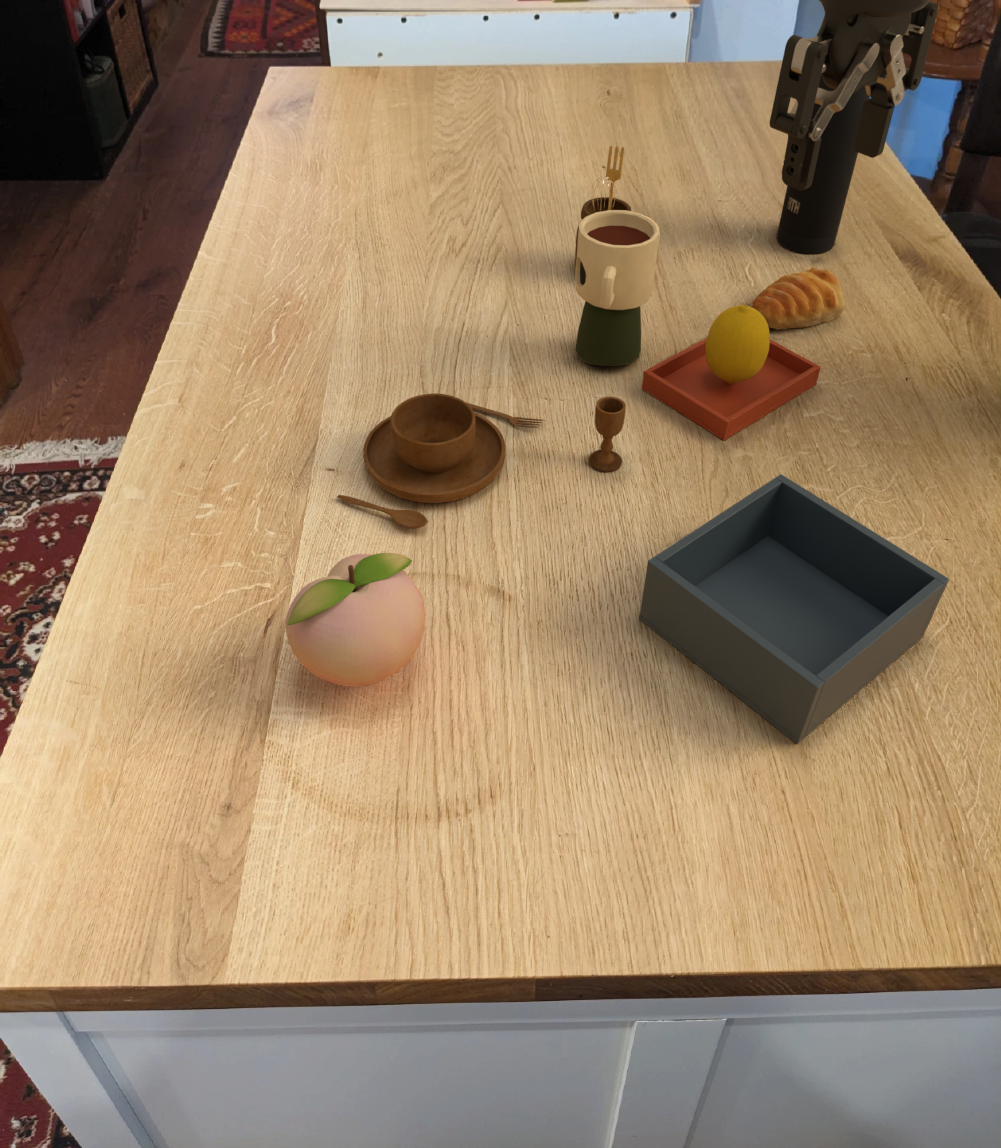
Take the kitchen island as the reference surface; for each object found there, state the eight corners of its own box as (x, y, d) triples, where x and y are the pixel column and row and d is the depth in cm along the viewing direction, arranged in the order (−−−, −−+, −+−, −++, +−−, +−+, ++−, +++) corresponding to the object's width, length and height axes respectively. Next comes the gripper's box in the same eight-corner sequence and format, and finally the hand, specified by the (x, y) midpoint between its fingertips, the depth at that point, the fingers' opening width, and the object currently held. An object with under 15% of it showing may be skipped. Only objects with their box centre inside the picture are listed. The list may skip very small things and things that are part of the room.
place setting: (428, 389, 94) (425, 334, 90) (629, 453, 87) (636, 397, 83) (319, 501, 83) (310, 443, 79) (539, 583, 76) (542, 526, 72)
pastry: (777, 343, 99) (785, 309, 97) (732, 312, 103) (738, 278, 101) (847, 317, 103) (857, 282, 100) (800, 287, 107) (808, 254, 104)
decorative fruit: (360, 744, 66) (344, 645, 59) (277, 679, 70) (252, 578, 63) (457, 660, 71) (453, 559, 64) (375, 603, 75) (362, 502, 68)
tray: (733, 339, 100) (737, 321, 98) (816, 384, 95) (821, 366, 93) (641, 389, 94) (643, 370, 93) (723, 440, 89) (727, 422, 87)
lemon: (754, 405, 91) (771, 328, 86) (693, 393, 93) (707, 315, 87) (765, 372, 95) (782, 296, 89) (706, 360, 96) (720, 284, 91)
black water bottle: (839, 233, 115) (919, -72, 94) (828, 259, 111) (908, -54, 89) (783, 222, 117) (848, -80, 95) (770, 247, 113) (835, -63, 91)
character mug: (581, 320, 102) (589, 195, 93) (651, 330, 101) (667, 204, 92) (559, 381, 95) (567, 252, 85) (635, 392, 94) (651, 263, 84)
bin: (765, 531, 81) (780, 473, 76) (923, 636, 73) (950, 578, 69) (638, 618, 74) (647, 560, 70) (796, 744, 66) (818, 687, 62)
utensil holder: (568, 280, 108) (574, 168, 99) (581, 251, 112) (588, 142, 103) (623, 288, 107) (634, 176, 98) (634, 259, 111) (646, 149, 102)
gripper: (869, -46, 59) (812, 216, 71) (1004, -90, 66) (931, 159, 77) (769, -72, 64) (730, 180, 75) (905, -111, 70) (849, 128, 81)
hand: (832, 169), depth 76 cm, fingers open, 8 cm apart
